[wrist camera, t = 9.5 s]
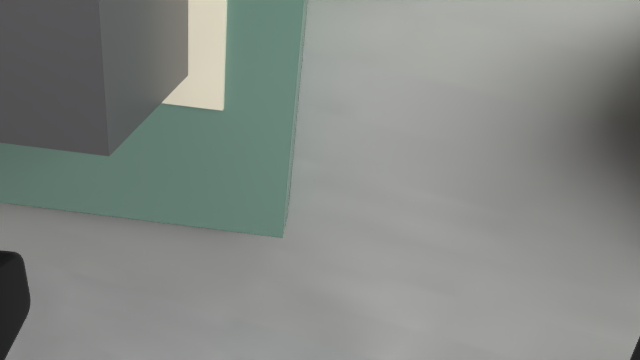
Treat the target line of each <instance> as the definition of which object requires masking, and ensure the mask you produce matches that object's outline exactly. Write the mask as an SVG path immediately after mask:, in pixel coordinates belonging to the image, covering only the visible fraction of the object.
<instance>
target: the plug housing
mask: <svg viewBox="0 0 640 360" xmlns="http://www.w3.org/2000/svg"><path fill="white" fill-rule="evenodd" d="M187 76H188V0H0V143H6V144H14V145H22V146H30V147H38V148H46V149H54V150H62V151H70V152H78V153H86V154H93V155H101V156H110V155H111V154H112V153H113V152H114V151H115V150H116V149H117V148H118V147H119V146H120V145H121V144H122V143H123V142H124V141H125V140H126V139H127V138H128V137H129V136H130V135H131V133H132V132H133V131H134V130H135V129H136V128H137V127H138V126H139V125H140V124H141V123H142V122H143V121H144V120H145V119H146V118H147V117H148V116H149V115H150V114H151V113H152V112H153V111H154V110H155V109H156V108H157V107H158V106H159V105H160V104H161V103H162V102H163V101H164V100H165V99H166V98H167V97H168V96H169V95H170V93H171V92H172V91H173V90H174V89H175V88H176V87H177V86H178V85H179V84H180V83H181V82H182V81H183V80H184V79H185V78H186V77H187Z"/></svg>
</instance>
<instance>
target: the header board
mask: <svg viewBox="0 0 640 360" xmlns="http://www.w3.org/2000/svg"><path fill="white" fill-rule="evenodd" d="M307 3H308V0H188V76H187V77H186V78H185V79H184V80H183V81H182V82H181V83H180V84H179V85H178V86H177V87H176V88H175V89H174V90H173V91H172V92H171V93H170V95H169V96H168V97H167V98H166V99H165V100H164V101H163V102H162V103H161V104H160V105H159V106H158V107H157V108H156V109H155V110H154V111H153V112H152V113H151V114H150V115H149V116H148V117H147V118H146V119H145V120H144V121H143V122H142V123H141V124H140V125H139V126H138V127H137V128H136V129H135V130H134V131H133V132H132V133H131V135H130V136H129V137H128V138H127V139H126V140H125V141H124V142H123V143H122V144H121V145H120V146H119V147H118V148H117V149H116V150H115V151H114V152H113V153H112V154H111V155H110V156H101V155H93V154H86V153H78V152H70V151H62V150H54V149H46V148H38V147H30V146H22V145H14V144H6V143H0V203H8V204H16V205H24V206H32V207H40V208H48V209H56V210H64V211H72V212H80V213H88V214H96V215H104V216H112V217H120V218H127V219H135V220H143V221H151V222H159V223H167V224H175V225H183V226H191V227H199V228H207V229H215V230H223V231H231V232H239V233H247V234H255V235H263V236H271V237H279V238H283V234H284V229H285V225H286V221H287V216H288V205H289V195H290V184H291V173H292V163H293V152H294V142H295V131H296V120H297V110H298V99H299V88H300V78H301V67H302V56H303V46H304V35H305V24H306V14H307Z"/></svg>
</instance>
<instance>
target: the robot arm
mask: <svg viewBox="0 0 640 360" xmlns="http://www.w3.org/2000/svg"><path fill="white" fill-rule="evenodd" d="M29 308H30V293H29V287H28V282H27V276H26V271H25V265H24V261H23V258H22V257H21V255H20V254H18V253H16V252H10V251H0V360H5V358H6V356H7V354H8V352H9V350H10V348H11V346H12V344H13V342H14V340H15V338H16V337H17V335H18V333H19V331H20V329H21V327H22V325H23V323H24V321H25V319H26V317H27V315H28V312H29ZM630 360H640V337H639V340H638V342H637V344H636V347H635V349H634V352H633V354H632V356H631V359H630Z"/></svg>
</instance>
